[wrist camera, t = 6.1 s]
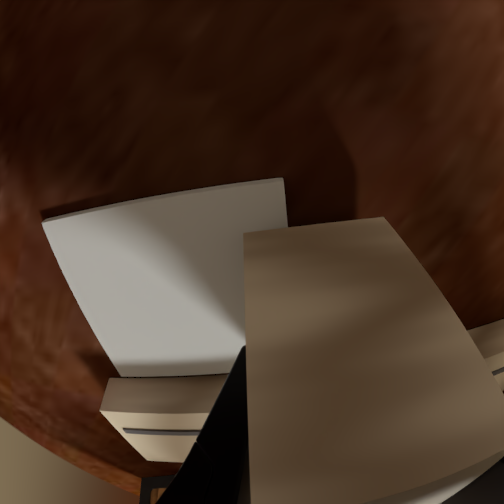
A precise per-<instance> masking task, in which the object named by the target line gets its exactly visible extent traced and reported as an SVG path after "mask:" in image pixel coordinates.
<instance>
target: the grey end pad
mask: <svg viewBox="0 0 504 504" xmlns="http://www.w3.org/2000/svg"><path fill="white" fill-rule="evenodd" d="M42 226H43V228H44V231H45V233H46V236H47V238H48V241H49V243H50V245H51V248H52V250H53V252H54V254H55V257H56V259H57V261H58V263H59V265H60V268H61V270H62V272H63V274H64V276H65V278H66V280H67V282H68V284H69V286H70V288H71V290H72V292H73V294H74V296H75V298H76V300H77V302H78V304H79V306H80V308H81V310H82V312H83V313H84V315H85V317H86V319H87V321H88V323H89V324H90V326H91V328H92V330H93V331H94V333H95V335H96V337H97V338H98V340H99V342H100V343H101V345H102V347H103V348H104V350H105V352H106V353H107V355H108V357H109V358H110V360H111V361H112V363H113V365H114V366H115V368H116V369H117V371H118V372H119V374H120V375H121V377H155V376H186V375H205V374H220V373H229V372H230V370H231V368H232V366H233V364H234V362H235V360H236V358H237V356H238V354H239V352H240V349H241V348H242V346H244V345H246V337H245V297H244V254H243V233H247V232H255V231H263V230H271V229H280V228H288V223H287V211H286V200H285V189H284V180H283V178H282V177H281V178H272V179H264V180H256V181H248V182H241V183H234V184H227V185H220V186H213V187H206V188H200V189H193V190H187V191H181V192H175V193H169V194H163V195H158V196H152V197H147V198H141V199H136V200H131V201H126V202H121V203H116V204H111V205H106V206H101V207H96V208H92V209H87V210H82V211H78V212H73V213H69V214H65V215H60V216H56V217H52V218H48V219H45V220H44V221H43V222H42Z"/></svg>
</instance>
